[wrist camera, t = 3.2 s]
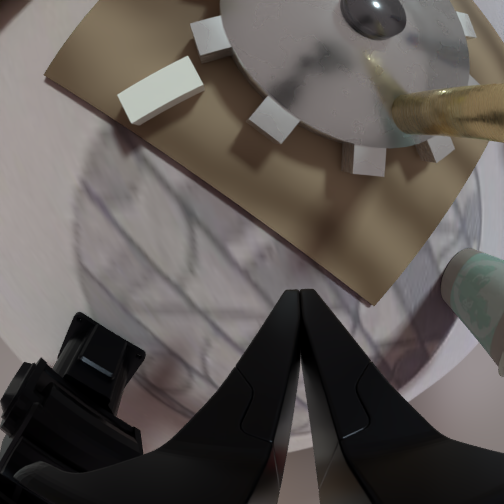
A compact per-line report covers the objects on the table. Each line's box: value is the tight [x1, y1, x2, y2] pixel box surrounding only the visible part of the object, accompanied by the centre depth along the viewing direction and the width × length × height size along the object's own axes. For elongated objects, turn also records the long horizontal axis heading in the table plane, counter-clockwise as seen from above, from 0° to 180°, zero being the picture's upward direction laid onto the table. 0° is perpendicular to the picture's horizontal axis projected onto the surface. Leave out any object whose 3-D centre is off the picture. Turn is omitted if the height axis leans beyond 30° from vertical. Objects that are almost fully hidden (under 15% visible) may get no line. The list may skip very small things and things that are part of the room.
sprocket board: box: [44, 0, 504, 306], centre depth 15 cm, size 30×30×1 cm
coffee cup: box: [441, 248, 504, 377], centre depth 18 cm, size 9×9×12 cm
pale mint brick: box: [117, 56, 205, 125], centre depth 15 cm, size 4×2×2 cm, turn 116°
